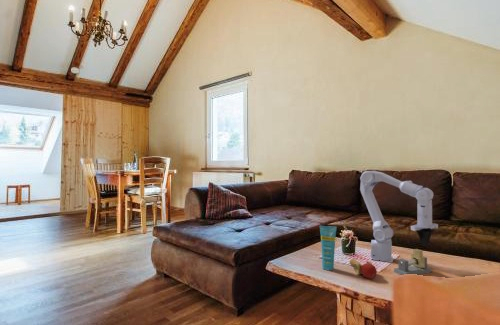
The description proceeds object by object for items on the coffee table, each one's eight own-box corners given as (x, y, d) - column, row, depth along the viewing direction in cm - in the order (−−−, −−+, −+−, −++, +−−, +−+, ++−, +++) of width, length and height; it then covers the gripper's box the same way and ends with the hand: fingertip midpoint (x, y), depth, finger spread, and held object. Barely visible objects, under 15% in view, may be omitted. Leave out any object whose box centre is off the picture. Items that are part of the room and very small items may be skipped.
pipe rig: (405, 276, 122) (405, 262, 121) (394, 271, 127) (394, 258, 127) (431, 272, 127) (431, 258, 127) (419, 267, 132) (419, 254, 132)
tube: (319, 269, 130) (319, 226, 130) (320, 265, 135) (319, 224, 135) (336, 271, 128) (336, 227, 128) (336, 267, 133) (336, 225, 133)
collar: (420, 268, 125) (420, 251, 125) (411, 264, 130) (411, 248, 130) (424, 267, 126) (424, 251, 126) (415, 263, 131) (415, 248, 131)
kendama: (343, 268, 135) (362, 278, 117) (344, 254, 136) (363, 262, 118) (359, 271, 136) (380, 281, 118) (360, 257, 137) (381, 265, 119)
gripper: (420, 217, 125) (420, 249, 125) (444, 215, 130) (444, 246, 130) (406, 215, 131) (406, 245, 131) (429, 213, 136) (429, 242, 136)
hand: (424, 245), depth 131 cm, fingers closed
